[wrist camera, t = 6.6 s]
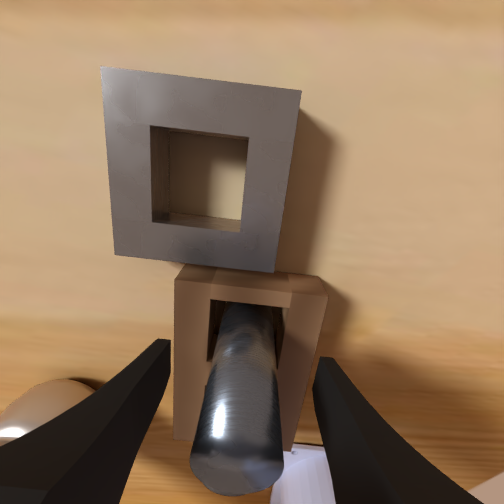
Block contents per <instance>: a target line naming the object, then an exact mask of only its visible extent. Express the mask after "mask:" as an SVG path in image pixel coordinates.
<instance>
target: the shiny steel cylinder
mask: <svg viewBox="0 0 504 504" xmlns="http://www.w3.org/2000/svg"><path fill="white" fill-rule="evenodd" d="M190 467H191V469H192V471H193V473H194V475H195V476H196V477H197V478H198V479H199V480H200V481H201V482H202V483H204V484H205V485H207V486H209V487H211V488H213V489H215V490H218V491H222V492H226V493H233V494H248V493H254V492H258V491H261V490H264V489H266V488H268V487H270V486H271V485H273V484H274V483H275V482H276V481H277V480H278V479H279V478H280V477H281V475H282V473H283V470H284V455H283V443H282V431H281V418H280V406H279V393H278V381H277V369H276V356H275V344H274V331H273V319H272V307H271V306H267V305H258V304H250V303H241V302H232V301H226V304H225V308H224V313H223V317H222V321H221V326H220V330H219V334H218V338H217V343H216V347H215V351H214V356H213V360H212V364H211V369H210V373H209V377H208V381H207V386H206V390H205V394H204V399H203V403H202V407H201V411H200V416H199V420H198V424H197V429H196V433H195V437H194V442H193V446H192V450H191V454H190Z"/></svg>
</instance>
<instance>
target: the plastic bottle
mask: <svg viewBox="0 0 504 504" xmlns="http://www.w3.org/2000/svg"><path fill="white" fill-rule="evenodd" d="M94 392H95V390H94V389H92V388H91V387H89V386H87V385H85V384H83V383H80V382H78V381H74V380H69V379H55V380H52V381H48V382H45V383H42V384H38V385H36V386H34V387H32V388H31V389H29V390H28V391H27V392H25V393H24V394H23V395H21V396H20V397H19V398H17V399H16V400H15V401H14V402H12V403H11V404H10V405H9V406H8V407H7V408H6V409H5V410H4V411H3V413H2V414H1V415H0V446H2V445H4V444H6V443H9V442H11V441H13V440H15V439H17V438H19V437H20V436H22V435H24V434H26V433H28V432H30V431H32V430H34V429H36V428H37V427H39V426H41V425H43V424H45V423H46V422H48V421H50V420H52V419H53V418H55V417H57V416H58V415H60V414H62V413H63V412H65V411H66V410H68V409H70V408H71V407H73V406H75V405H76V404H78V403H79V402H81V401H82V400H84V399H85V398H87V397H88V396H89V395H91V394H92V393H94Z"/></svg>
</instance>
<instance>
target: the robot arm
mask: <svg viewBox="0 0 504 504" xmlns="http://www.w3.org/2000/svg"><path fill="white" fill-rule="evenodd" d="M170 373H171V340H167V339H157V340H155V341H154V342H153V343H152V344H151V345H150V346H149V347H148V348H147V349H146V350H145V351H144V352H142V353H141V354H140V355H139V356H138V357H137V358H136V359H135V360H134V361H132V362H131V363H130V364H129V365H128V366H127V367H125V368H124V369H123V370H122V371H121V372H120V373H118V374H117V375H116V376H115V377H113V378H112V379H111V380H110V381H108V382H107V383H106V384H105V385H103V386H102V387H101V388H99V389H98V390H96V391H95V392H94V393H92V394H91V395H89V396H88V397H87V398H85V399H84V400H82V401H81V402H79V403H78V404H76V405H75V406H73V407H71V408H70V409H68V410H66V411H65V412H63V413H62V414H60V415H58V416H57V417H55V418H53V419H52V420H50V421H48V422H46V423H45V424H43V425H41V426H39V427H37V428H36V429H34V430H32V431H30V432H28V433H26V434H24V435H22V436H20V437H19V438H17V439H15V440H13V441H11V442H9V443H6V444H4V445H2V446H0V504H119V502H120V499H121V496H122V494H123V491H124V488H125V485H126V482H127V479H128V477H129V474H130V471H131V468H132V466H133V463H134V460H135V457H136V455H137V453H138V450H139V448H140V445H141V443H142V441H143V439H144V437H145V434H146V432H147V430H148V428H149V426H150V424H151V421H152V419H153V417H154V415H155V413H156V410H157V408H158V406H159V404H160V402H161V399H162V397H163V395H164V392H165V389H166V386H167V383H168V380H169V376H170ZM312 392H313V400H314V407H315V413H316V417H317V421H318V425H319V429H320V433H321V437H322V441H323V445H324V447H321V446H311V445H302V444H293V446H292V450H291V452H287V451H283V455H284V470H283V473H282V475H281V477H280V478H279V479H278V480H277V481H276V482H275V483H274V484H273V488H272V493H271V497H270V504H484V503H482V502H481V501H479V500H478V499H477V498H475V497H474V496H472V495H471V494H470V493H468V492H467V491H465V490H464V489H463V488H461V487H460V486H459V485H458V484H456V483H455V482H454V481H452V480H451V479H450V478H449V477H447V476H446V475H445V474H443V473H442V472H441V471H440V470H439V469H437V468H436V467H435V466H434V465H432V464H431V463H430V462H429V461H428V460H427V459H425V458H424V457H423V456H422V455H421V454H420V453H419V452H417V451H416V450H415V449H414V448H413V447H412V446H411V445H410V444H408V443H407V442H406V441H405V440H404V439H403V438H402V437H401V436H400V435H399V434H398V433H397V432H396V431H395V430H394V429H393V428H392V427H391V426H390V425H389V424H388V423H387V422H386V421H385V420H384V419H383V418H382V417H381V416H380V415H379V414H378V413H377V411H376V410H375V409H374V408H373V407H372V406H371V405H370V404H369V402H368V401H367V400H366V399H365V398H364V397H363V395H362V394H361V393H360V392H359V391H358V389H357V388H356V387H355V386H354V384H353V383H352V382H351V381H350V379H349V378H348V377H347V375H346V374H345V373H344V372H343V370H342V369H341V368H340V366H339V365H338V364H337V362H336V361H335V360H334V359H333V358H330V357H321V356H320V360H319V364H318V367H317V371H316V375H315V379H314V383H313V387H312Z"/></svg>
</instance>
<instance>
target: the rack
mask: <svg viewBox="0 0 504 504" xmlns="http://www.w3.org/2000/svg"><path fill="white" fill-rule="evenodd" d="M216 300H223V301H232V302H241V303H250V304H258V305H267V306H276V307H281V312H280V318H279V324H278V329H277V335H276V341H274V344H275V356H276V369H277V381H278V393H279V406H280V418H281V431H282V443H283V451H287V452H291V450H292V446H293V441H294V437H295V433H296V429H297V425H298V421H299V417H300V413H301V409H302V404H303V400H304V396H305V392H306V388H307V384H308V380H309V376H310V372H311V367H312V363H313V359H314V355H315V351H316V347H317V343H318V339H319V334H320V330H321V326H322V322H323V318H324V314H325V310H326V306H327V302H328V295H327V293H326V291H325V289H324V287H323V285H322V283H321V281H320V279H319V277H318V276H311V275H302V274H293V273H284V272H276V271H274V273H269V272H260V271H251V270H242V269H233V268H225V267H216V266H207V265H198V264H189V263H186V264H185V266H184V267H183V268H182V270H181V271H180V273H179V274H178V275H177V277H176V278H175V280H174V395H173V440H183V441H192V442H194V437H195V433H196V429H197V424H198V420H199V416H200V411H201V407H202V403H203V399H204V394H205V390H206V386H207V381H208V377H209V373H210V369H211V364H212V360H213V356H214V351H215V347H216V343H217V338H218V335H215V334H214V321H215V308H216ZM203 484H204V483H203ZM204 485H205V484H204ZM205 486H206V487H207V488H208V489H209V490H211V491H213V492H215V493H217V494H220V495H224V496H241V495H245V494H233V493H226V492H222V491H218V490H215V489H213V488H211V487H209V486H207V485H205Z"/></svg>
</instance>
